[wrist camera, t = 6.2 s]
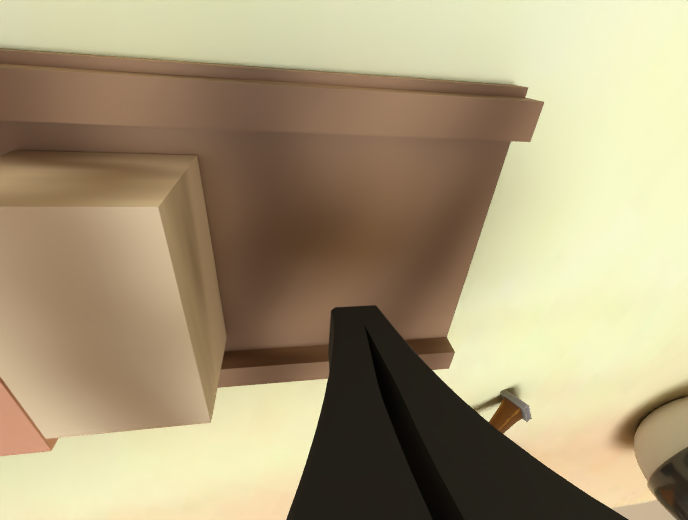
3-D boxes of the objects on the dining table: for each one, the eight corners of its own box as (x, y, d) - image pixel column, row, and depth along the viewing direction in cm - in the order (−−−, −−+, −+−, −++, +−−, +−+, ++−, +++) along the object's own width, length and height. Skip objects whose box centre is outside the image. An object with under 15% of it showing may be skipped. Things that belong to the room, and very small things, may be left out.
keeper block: (102, 344, 14) (45, 439, 11) (14, 150, 10) (-124, 206, 6) (226, 337, 15) (210, 422, 11) (197, 155, 11) (157, 207, 7)
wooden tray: (49, 372, 16) (-10, 457, 12) (-154, 37, 9) (-409, 34, 5) (434, 345, 19) (465, 407, 16) (514, 84, 12) (599, 100, 9)
